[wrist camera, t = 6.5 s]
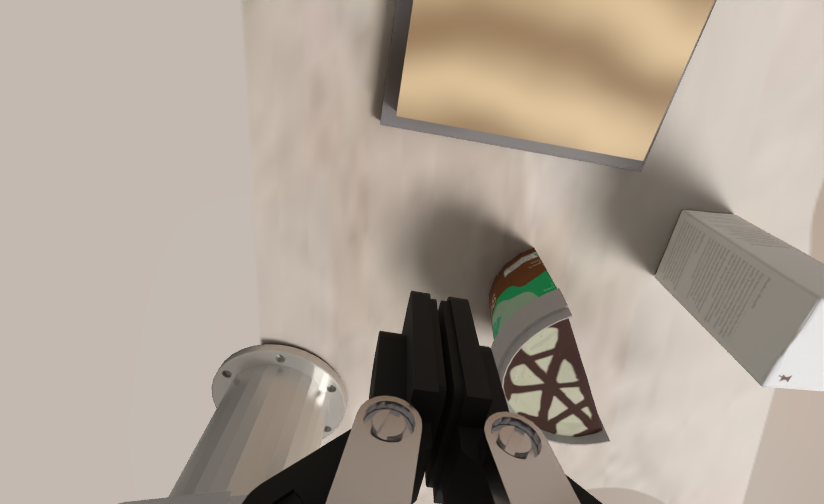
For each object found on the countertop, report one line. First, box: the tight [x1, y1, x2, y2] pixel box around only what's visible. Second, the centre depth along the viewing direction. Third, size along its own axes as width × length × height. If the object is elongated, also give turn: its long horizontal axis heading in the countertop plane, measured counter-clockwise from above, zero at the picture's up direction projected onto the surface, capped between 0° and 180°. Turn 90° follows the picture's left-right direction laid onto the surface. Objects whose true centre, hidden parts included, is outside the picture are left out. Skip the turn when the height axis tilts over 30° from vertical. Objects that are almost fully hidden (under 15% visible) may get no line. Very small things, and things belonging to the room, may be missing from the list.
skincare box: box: [655, 210, 824, 391], centre depth 27 cm, size 6×4×12 cm
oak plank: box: [396, 0, 715, 161], centre depth 24 cm, size 10×16×2 cm, turn 80°
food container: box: [489, 248, 610, 445], centre depth 31 cm, size 12×6×10 cm, turn 23°
